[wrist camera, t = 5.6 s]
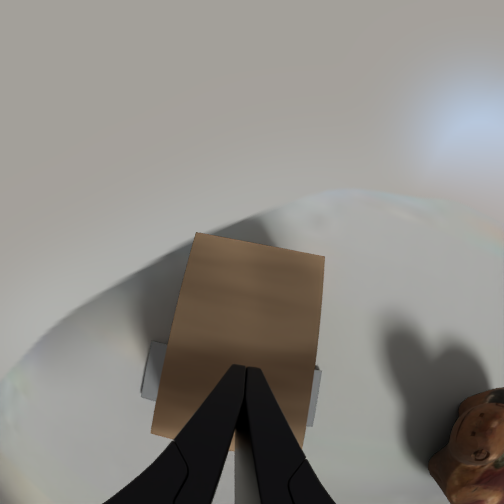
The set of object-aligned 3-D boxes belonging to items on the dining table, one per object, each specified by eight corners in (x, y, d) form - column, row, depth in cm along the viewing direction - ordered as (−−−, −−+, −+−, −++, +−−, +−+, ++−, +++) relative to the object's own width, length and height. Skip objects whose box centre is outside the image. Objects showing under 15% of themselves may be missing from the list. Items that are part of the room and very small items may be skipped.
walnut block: (300, 457, 9) (324, 256, 13) (150, 433, 9) (195, 232, 13) (277, 436, 14) (298, 289, 18) (171, 418, 14) (202, 271, 18)
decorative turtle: (432, 360, 17) (523, 343, 9) (507, 419, 15) (569, 414, 8) (368, 483, 13) (452, 521, 5) (466, 508, 11) (526, 520, 4)
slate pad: (311, 425, 15) (312, 426, 14) (142, 396, 14) (140, 397, 14) (320, 370, 16) (321, 370, 16) (152, 340, 16) (151, 340, 15)
